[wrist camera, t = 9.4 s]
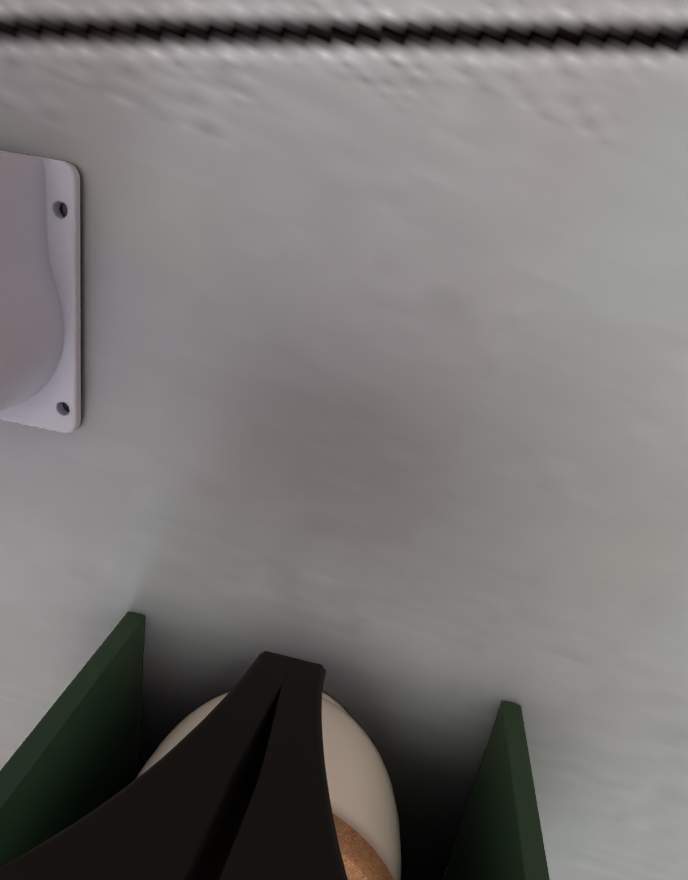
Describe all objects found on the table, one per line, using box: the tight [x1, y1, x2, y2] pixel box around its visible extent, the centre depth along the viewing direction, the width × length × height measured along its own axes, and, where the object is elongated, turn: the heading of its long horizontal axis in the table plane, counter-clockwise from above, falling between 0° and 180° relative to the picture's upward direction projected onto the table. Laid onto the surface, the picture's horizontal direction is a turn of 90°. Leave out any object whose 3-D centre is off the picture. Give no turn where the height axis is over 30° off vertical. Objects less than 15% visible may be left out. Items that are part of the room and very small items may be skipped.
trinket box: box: [136, 692, 401, 880], centre depth 22 cm, size 11×11×9 cm
